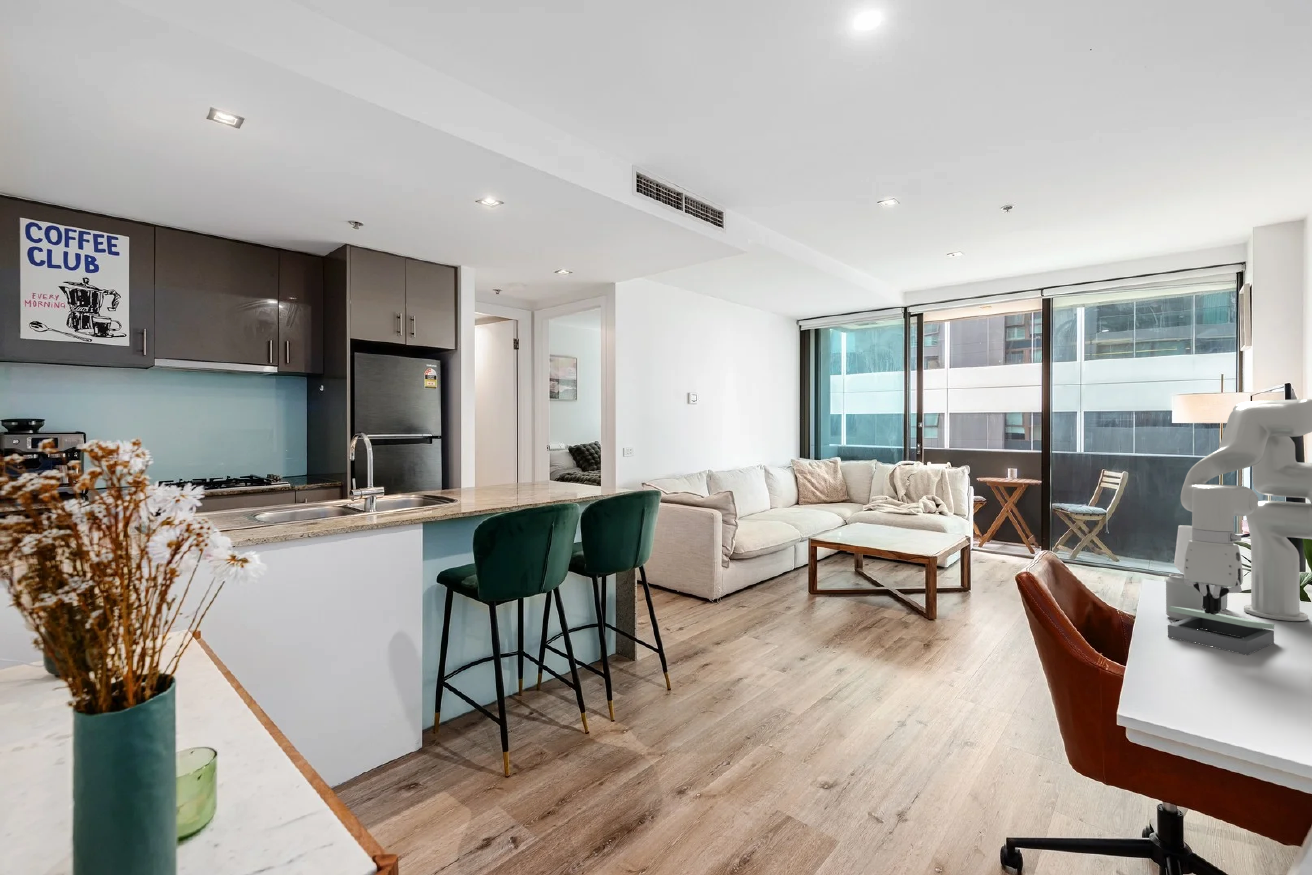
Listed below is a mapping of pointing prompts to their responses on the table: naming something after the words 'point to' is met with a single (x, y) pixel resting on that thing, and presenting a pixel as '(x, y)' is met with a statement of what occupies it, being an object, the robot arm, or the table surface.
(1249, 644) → the duct box
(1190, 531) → the champagne flute
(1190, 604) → the can
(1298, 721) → the table surface
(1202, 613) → the plate
